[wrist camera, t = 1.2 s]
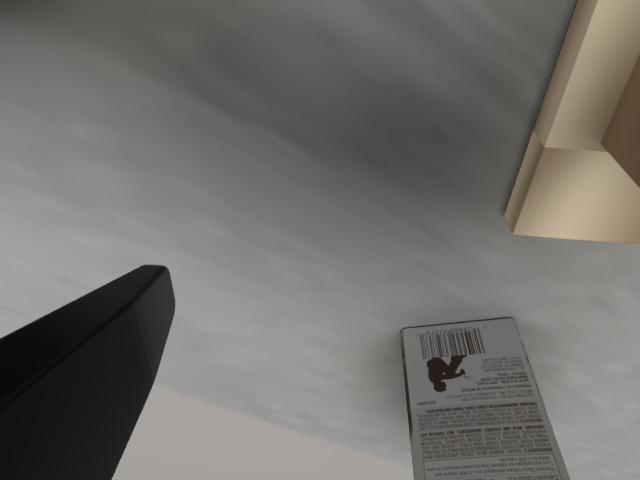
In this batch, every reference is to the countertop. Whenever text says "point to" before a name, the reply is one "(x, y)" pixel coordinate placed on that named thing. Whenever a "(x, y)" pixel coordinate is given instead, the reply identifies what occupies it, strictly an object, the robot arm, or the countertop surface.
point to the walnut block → (626, 128)
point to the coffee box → (476, 405)
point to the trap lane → (582, 135)
